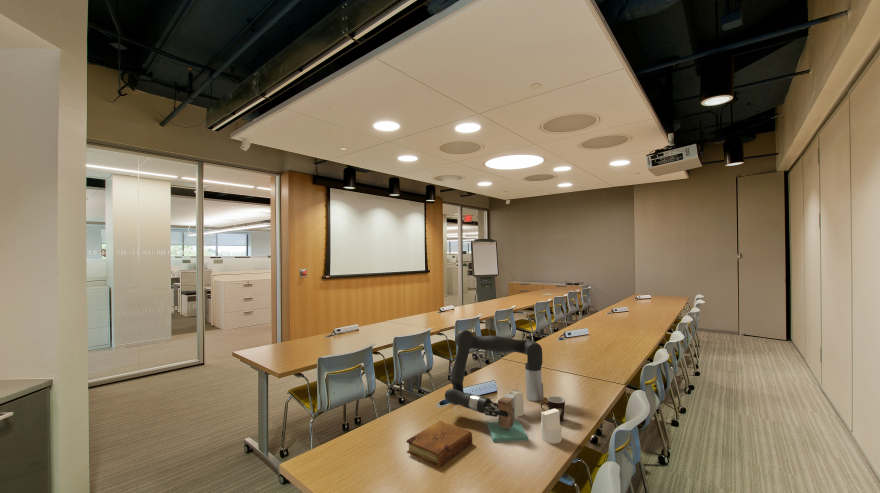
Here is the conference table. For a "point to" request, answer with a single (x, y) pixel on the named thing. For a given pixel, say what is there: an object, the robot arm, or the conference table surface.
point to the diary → (439, 443)
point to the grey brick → (513, 402)
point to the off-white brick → (518, 402)
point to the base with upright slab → (551, 426)
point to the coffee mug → (556, 405)
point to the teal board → (507, 432)
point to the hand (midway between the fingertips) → (510, 412)
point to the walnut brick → (507, 406)
